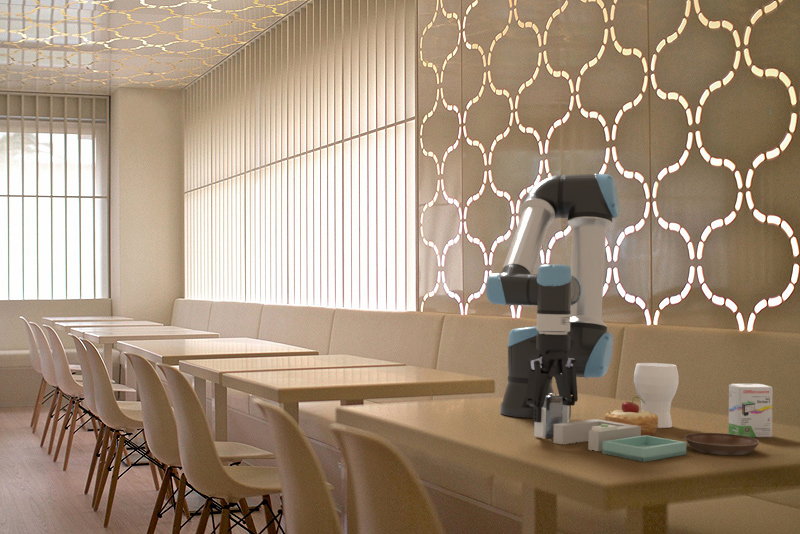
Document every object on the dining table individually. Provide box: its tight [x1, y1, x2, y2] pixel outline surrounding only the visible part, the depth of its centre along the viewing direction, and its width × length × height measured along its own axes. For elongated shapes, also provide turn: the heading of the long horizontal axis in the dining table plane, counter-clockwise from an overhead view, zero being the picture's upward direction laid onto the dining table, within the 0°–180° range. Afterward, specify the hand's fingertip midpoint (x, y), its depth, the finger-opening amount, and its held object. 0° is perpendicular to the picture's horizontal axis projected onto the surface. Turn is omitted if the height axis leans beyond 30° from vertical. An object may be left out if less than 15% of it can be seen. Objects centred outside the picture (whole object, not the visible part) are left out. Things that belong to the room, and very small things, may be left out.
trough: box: [601, 435, 687, 463], centre depth 181 cm, size 10×14×2 cm
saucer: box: [684, 432, 760, 456], centre depth 188 cm, size 15×15×3 cm
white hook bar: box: [552, 418, 641, 452], centre depth 192 cm, size 12×14×5 cm
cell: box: [542, 392, 563, 439], centre depth 201 cm, size 5×5×10 cm
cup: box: [633, 362, 680, 429], centre depth 220 cm, size 11×11×15 cm
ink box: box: [728, 383, 774, 438], centre depth 207 cm, size 8×5×12 cm, turn 101°
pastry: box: [604, 395, 658, 437], centre depth 206 cm, size 12×12×9 cm
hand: (551, 435), depth 201 cm, fingers open, 7 cm apart
